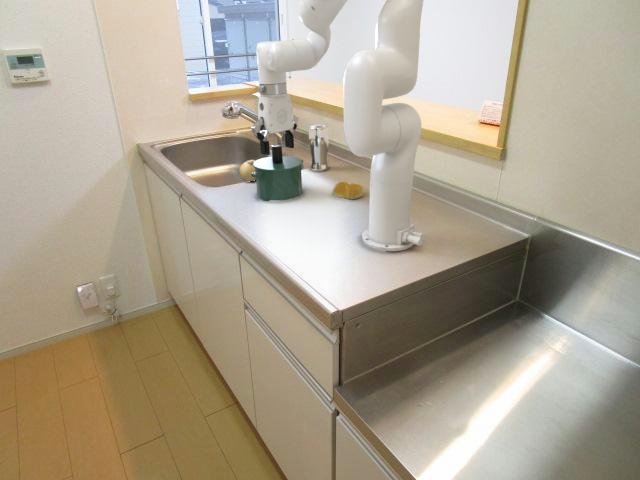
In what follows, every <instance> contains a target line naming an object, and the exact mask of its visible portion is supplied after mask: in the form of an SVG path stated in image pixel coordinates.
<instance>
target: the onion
mask: <svg viewBox="0 0 640 480" xmlns="http://www.w3.org/2000/svg"><path fill="white" fill-rule="evenodd" d="M255 161H256V160H255V159H250V160H246V161H244V162H243V163H242V164H241V165H240V167H239V169H238V170H239V171H238V173H239V176H240V178H241V179H242V180H244V181H247V182H251V181H252V182H254V181H256V178H255V177H252V176H251V173H254V172H255V168H254V166H253V163H254V162H255Z"/></svg>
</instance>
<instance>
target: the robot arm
mask: <svg viewBox="0 0 640 480" xmlns="http://www.w3.org/2000/svg"><path fill="white" fill-rule="evenodd" d="M298 2H299V3H298V4H297V10H296V11H297V16H298V18H299V20H300V21H301V23H302V24H303V25H304V26H305V28H307V29H308V30H310V31H309V32H308V34H307V36H306V37H304V39H302V38H301V39H286V40H274V41H273V40H272V41H271V40H270V41H260V42H258V43H257V44H256V47H255V52H256V61H257V62H256V64H257V75H258V84H259V85H258V86H259V87H257V89H256V90H257V92H258V94H259V96H258V101H257V102H258V105H257V119H258V120H256V121H255V122H254V123H253V124H252V125H251V128H250V129H251V131H252V132H253V135H254V137H255V138H256V139H257V141H259V147H260V154H261V155H265V156H270V154H271V149H270V140H268V139H269V137H270V134H278V133H282V132H284V147H285V148H289V149H294V148H295V140H294V137H295V136H294V135H295V134H296V129H297V127H298V123H299V117H298V116H297V115H294V110H293V104H292V100H291V95H290V93H288V86H287V85H288V83H287V73H292V72H299V71H307V70H310V69H312V68H314V67H315V66H317V65H318V63H320V62H321V60H322V59H323V57H324V56H325V55H326V53H327V52H328V50H329V48H330V43H331V37H332V32H331V25H332V23H333V22H334V20H335V19H336V17H337V16H338V14H339V13H340V12H341V10H342V9H343V7H344V6H345V5H346V3H347V2H348V0H299V1H298ZM423 6H424V0H384V4H383V6H382V7H381V9H380V12H379V14H378V17H377V20H376V26H375V45H374V46H375V47H374V48H369V49H363V50H360V51H358V52H356V53H355V54H353V56H351V58H350V59H349V60H348V62H347V64H346V66H345V67H346V68H345V70H344V74H343V89H342V90H343V91H342V92H343V134H344V141H345V144H346V146H347V148H348V149H349V151H350V152H351V153H352V154H353V155H354V156H356V157H358V158H370V157H372V160H371V164H370V172H369V173H370V174H369V175H370V176H369V207H368V211H369V212H368V213H369V214H368V228H366V230H364V231H363V232H362V235H361V237H362V238H361V239H362V240H361V241H362V242H363V243H364V244H365V245H367V246H368V247H371V248H374V249H376V250H382V251H386V252H401V251H405V250H409V249H411V248H412V247H413V246H414V245H415V246H418V247H421V246H422V244H423V243H424V242H423V241H424V239H423V238H424V234H423V233H422V232H417V231H415V224H414V223H412V222H411V213H412V198H413V183H414V173H415V171H414V170H415V162H416V154H417V150H418V146H419V143H420V138H421V133H422V119H421V117H420V114H419V111H417V110H416V108H415V107H414V106H412V105H410V104H408V103H404V102H392V103H387V104H383V100H389V99H394V98H399V97H402V96H406V95H407V94H409V93H411V92H412V91H413V90H414V88H415V87H416V84H417V82H418V81H417V79H418V73H419V72H418V70H419V57H420V41H421V40H420V39H421V22H422V21H421V20H422V13H423Z"/></svg>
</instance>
